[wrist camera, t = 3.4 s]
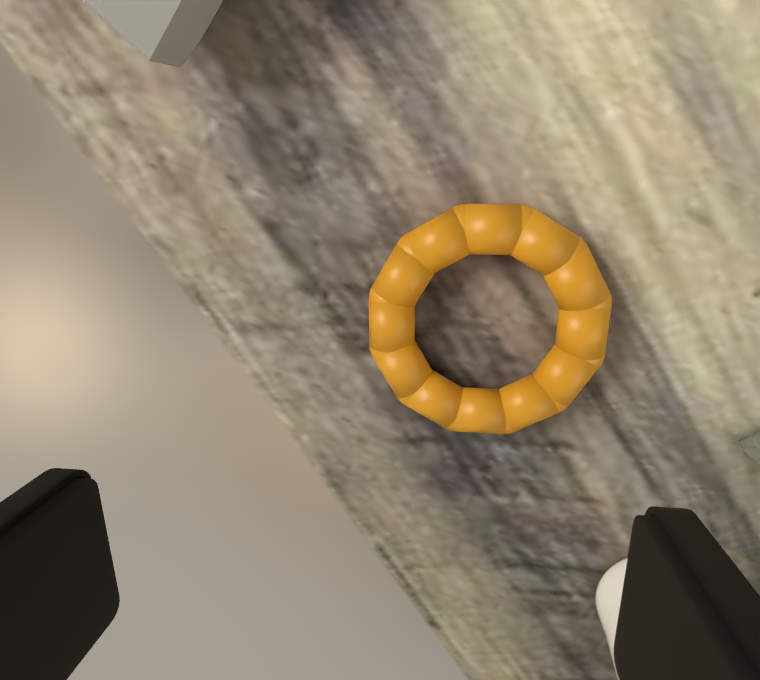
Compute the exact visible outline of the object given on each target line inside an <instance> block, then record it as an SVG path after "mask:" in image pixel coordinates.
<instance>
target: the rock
mask: <svg viewBox="0 0 760 680" xmlns="http://www.w3.org/2000/svg"><path fill="white" fill-rule="evenodd" d="M738 444H739V445H740V446H741V447H742V449H743V451H744V453H745V454H746V456H747V457H749V458H750V459H752V460H754V461H755V462H756V463H757V464H759V465H760V431H759V432H758V433H756V434H755V435H752V436H749V437H747V438H745V439H742V440H740V441H738Z"/></svg>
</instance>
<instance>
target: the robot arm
mask: <svg viewBox="0 0 760 680" xmlns="http://www.w3.org/2000/svg"><path fill="white" fill-rule="evenodd" d="M119 601H120V600H119V592H118V587H117V582H116V577H115V572H114V567H113V561H112V556H111V551H110V546H109V541H108V536H107V531H106V525H105V520H104V515H103V510H102V505H101V500H100V494H99V489H98V485H97V483H96V482H95V481H94V480H93V479H91V476H90V475H89V474H88V473H87V472H86V471H84V470H76V469H61V468H53V469H49V470H47V471H45V472H43V473H42V474H41V475H39V476H38V477H36V478H35V479H33V480H32V481H31V482H29V483H28V484H26V485H25V486H23V487H22V488H20V489H19V490H18V491H16V492H15V493H13V494H12V495H10V496H9V497H7V498H6V499H5V500H3V501H2V502H0V680H67V678H68V677H69V676H70V674H71V673H72V672H73V671H74V669H75V668H76V667H77V665H78V664H79V663H80V662H81V660H82V659H83V658H84V657H85V655H86V654H87V652H88V651H89V650H90V649H91V648H92V646H93V645H94V644H95V642H96V641H97V640H98V639H99V637H100V636H101V635H102V633H103V632H104V631H105V629H106V628H107V627H108V626H109V624H110V623H111V622H112V620H113V619H114V617H115V615H116V613H117V610H118V607H119ZM614 662H615V667H616V671H617V674H618V677H619V680H760V596H759V594H758V593H757V592H756V591H755V589H754V588H753V587H752V585H751V584H750V583H749V582H748V580H747V579H746V578H745V577H744V575H743V574H742V573H741V571H740V570H739V569H738V568H737V566H736V565H735V564H734V563H733V561H732V560H731V559H730V557H729V556H728V555H727V554H726V552H725V551H724V550H723V549H722V547H721V546H720V545H719V543H718V542H717V541H716V540H715V538H714V537H713V536H712V535H711V533H710V532H709V531H708V529H707V528H706V527H705V526H704V524H703V523H702V522H701V521H700V519H699V518H698V517H697V515H696V514H695V513H694V512H693V511H692V510H689V509H682V508H666V507H649V508H648V509H647V511H646V513H645V516H644V515H638V516H636V517H635V519H634V522H633V528H632V534H631V540H630V547H629V553H628V559H627V565H626V572H625V578H624V584H623V590H622V597H621V603H620V609H619V616H618V622H617V628H616V634H615V641H614Z"/></svg>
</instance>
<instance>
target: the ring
mask: <svg viewBox="0 0 760 680" xmlns="http://www.w3.org/2000/svg"><path fill="white" fill-rule="evenodd" d="M469 254H480V255H511V256H512V257H514V258H516V259H517V260H519V261H521V262H522V263H524V264H526V265H527V266H529V267H530V268H532V269H534V270H535V271H537V272H539V273H540V274H542V275H543V277H544V279H545V281H546V283H547V285H548V287H549V289H550V291H551V293H552V295H553V297H554V299H555V301H556V303H557V305H558V307H559V312H558V321H557V330H556V340H555V344H554V346H553V347H552V348H551V350H550V351H549V352H548V354H547V355H546V356H545V358H544V359H543V360H542V362H541V363H540V364H539V366H538V367H537V368H536V370H535V371H534V372H533V373H532V374H530V375H528V376H526V377H524V378H521V379H519V380H517V381H515V382H513V383H510V384H508V385H506V386H504V387H502V388H500V389H490V388H469V387H461V386H459V385H457V384H456V383H454V382H452V381H451V380H449V379H447V378H445V377H444V376H442V375H440V374H439V373H437V372H435V371H434V370H432V369H431V367H430V366H429V364H428V362H427V360H426V359H425V357H424V355H423V354H422V352H421V350H420V348H419V347H418V345H417V343H416V341H415V304H416V303H417V301H418V299H419V298H420V296H421V295H422V293H423V291H424V290H425V288H426V287H427V285H428V283H429V282H430V280H431V278H432V277H433V275H434V274H435V273H436V272H438V271H440V270H442V269H444V268H445V267H447V266H449V265H451V264H453V263H455V262H456V261H458V260H460V259H462V258H464V257H466V256H467V255H469ZM611 308H612V297H611V294H610V292H609V289H608V287H607V285H606V283H605V281H604V279H603V277H602V275H601V272H600V270H599V268H598V266H597V264H596V262H595V260H594V258H593V256H592V253H591V251H590V249H589V247H588V245H587V243H586V242H585V241H584V240H583V239H582V238H581V237H580V236H579V235H577V234H575V233H574V232H572V231H570V230H569V229H567V228H566V227H564V226H562V225H561V224H559V223H557V222H556V221H554V220H552V219H551V218H549V217H548V216H546V215H544V214H543V213H541V212H539V211H538V210H536V209H535V208H533V207H531V206H529V205H525V204H460V205H456V206H454V207H452V208H450V209H449V210H447V211H445V212H443V213H442V214H440V215H438V216H436V217H435V218H433V219H431V220H430V221H428V222H426V223H424V224H423V225H421V226H419V227H417V228H416V229H414V230H412V231H410V232H409V233H407V234H405V235H404V236H403V237H402V238H401V239H400V240H399V241H398V243H397V244H396V246H395V248H394V249H393V251H392V253H391V255H390V256H389V258H388V260H387V261H386V263H385V265H384V267H383V268H382V270H381V272H380V274H379V275H378V277H377V279H376V280H375V282H374V284H373V286H372V288H371V290H370V294H369V346H370V352H371V355H372V357H373V358H374V360H375V362H376V363H377V365H378V367H379V368H380V370H381V372H382V373H383V375H384V377H385V378H386V380H387V382H388V383H389V385H390V387H391V389H392V390H393V392H394V394H395V395H396V397H397V398H398V399H399V401H400V402H402V403H403V404H404V405H406V406H408V407H409V408H411V409H413V410H415V411H416V412H418V413H420V414H421V415H423V416H425V417H427V418H428V419H430V420H432V421H433V422H435V423H437V424H438V425H440V426H442V427H444V428H445V429H448V430H450V431H459V432H476V433H494V434H510V433H513V432H516V431H518V430H520V429H523V428H525V427H527V426H530V425H532V424H534V423H537V422H539V421H541V420H543V419H546V418H548V417H550V416H553V415H555V414H557V413H560V412H562V411H563V410H565V409H566V408H567V407H568V406H569V405H570V403H571V402H572V401H573V400H574V398H575V397H576V396H577V395H578V393H579V392H580V391H581V390H582V388H583V387H584V386H585V385H586V383H587V382H588V381H589V380H590V378H591V377H592V376H593V375H594V373H595V372H596V371H597V370H598V368H599V367H600V366H601V364H602V363H603V361H604V357H605V351H606V344H607V337H608V329H609V322H610V315H611Z"/></svg>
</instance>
